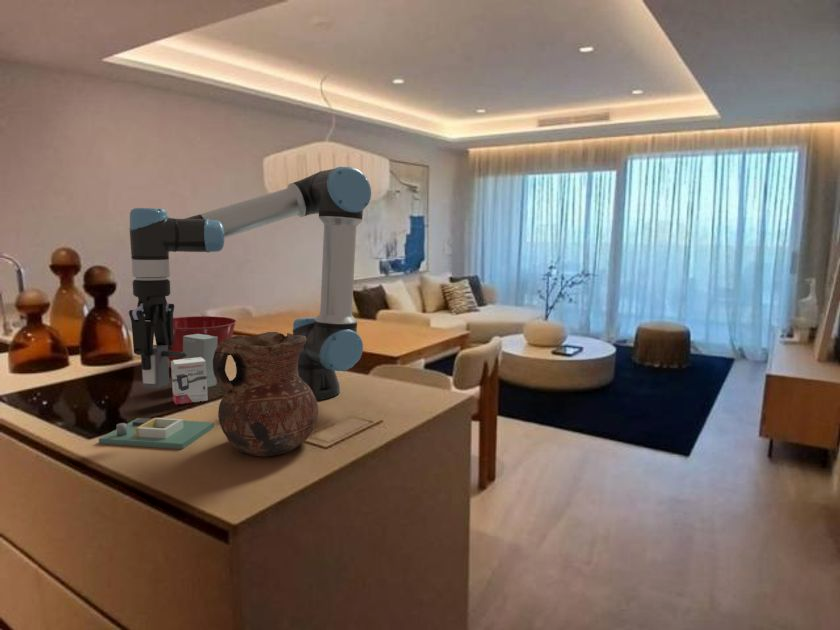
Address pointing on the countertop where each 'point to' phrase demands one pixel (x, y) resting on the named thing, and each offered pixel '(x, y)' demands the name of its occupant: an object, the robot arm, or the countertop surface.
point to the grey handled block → (162, 365)
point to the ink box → (189, 380)
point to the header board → (157, 433)
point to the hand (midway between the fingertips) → (156, 380)
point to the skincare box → (202, 352)
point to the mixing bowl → (200, 329)
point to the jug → (264, 394)
